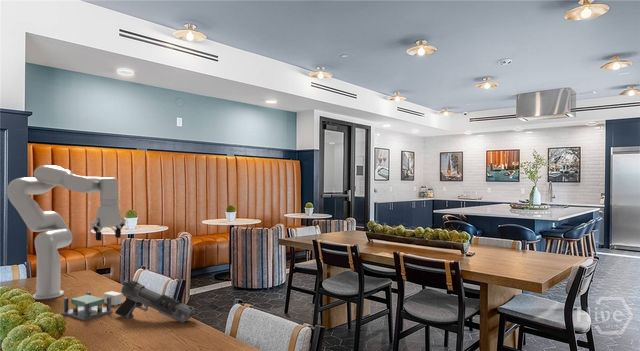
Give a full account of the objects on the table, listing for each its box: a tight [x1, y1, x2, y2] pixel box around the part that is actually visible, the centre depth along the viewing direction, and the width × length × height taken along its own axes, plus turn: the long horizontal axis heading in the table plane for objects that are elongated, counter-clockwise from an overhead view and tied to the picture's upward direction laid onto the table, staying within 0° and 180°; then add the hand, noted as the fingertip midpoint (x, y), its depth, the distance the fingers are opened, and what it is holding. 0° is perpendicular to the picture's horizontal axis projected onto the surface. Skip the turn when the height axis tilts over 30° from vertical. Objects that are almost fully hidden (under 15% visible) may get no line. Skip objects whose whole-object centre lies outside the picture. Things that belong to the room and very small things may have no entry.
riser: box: [102, 290, 123, 307], centre depth 182 cm, size 8×4×4 cm, turn 61°
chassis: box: [61, 291, 114, 321], centre depth 169 cm, size 16×12×6 cm
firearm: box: [114, 279, 196, 324], centre depth 162 cm, size 4×33×15 cm, turn 80°
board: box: [70, 294, 105, 308], centre depth 169 cm, size 12×7×2 cm, turn 61°
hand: (108, 238), depth 190 cm, fingers open, 9 cm apart
